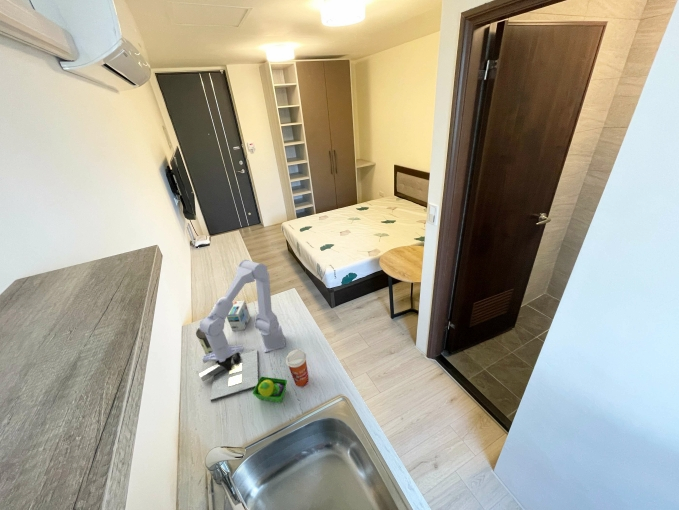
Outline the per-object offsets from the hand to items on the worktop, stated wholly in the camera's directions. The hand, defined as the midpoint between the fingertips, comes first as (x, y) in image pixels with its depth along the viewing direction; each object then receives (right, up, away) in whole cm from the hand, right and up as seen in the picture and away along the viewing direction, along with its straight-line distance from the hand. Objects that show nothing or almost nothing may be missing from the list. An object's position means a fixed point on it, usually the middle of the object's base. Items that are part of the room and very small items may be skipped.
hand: (230, 368), depth 107 cm
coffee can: (-13, 0, +20) cm, 24 cm away
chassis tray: (0, -6, +8) cm, 9 cm away
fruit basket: (+17, -10, -3) cm, 20 cm away
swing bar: (-7, -4, +9) cm, 12 cm away
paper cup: (+28, -6, +2) cm, 29 cm away
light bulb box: (-8, +9, +36) cm, 38 cm away
